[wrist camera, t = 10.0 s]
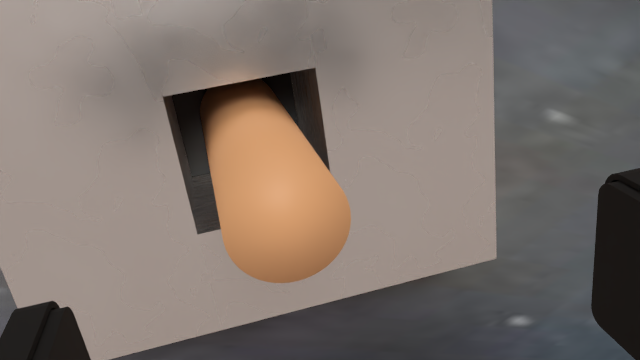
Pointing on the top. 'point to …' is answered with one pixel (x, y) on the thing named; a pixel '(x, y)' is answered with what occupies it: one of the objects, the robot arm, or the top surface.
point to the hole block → (197, 192)
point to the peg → (270, 186)
